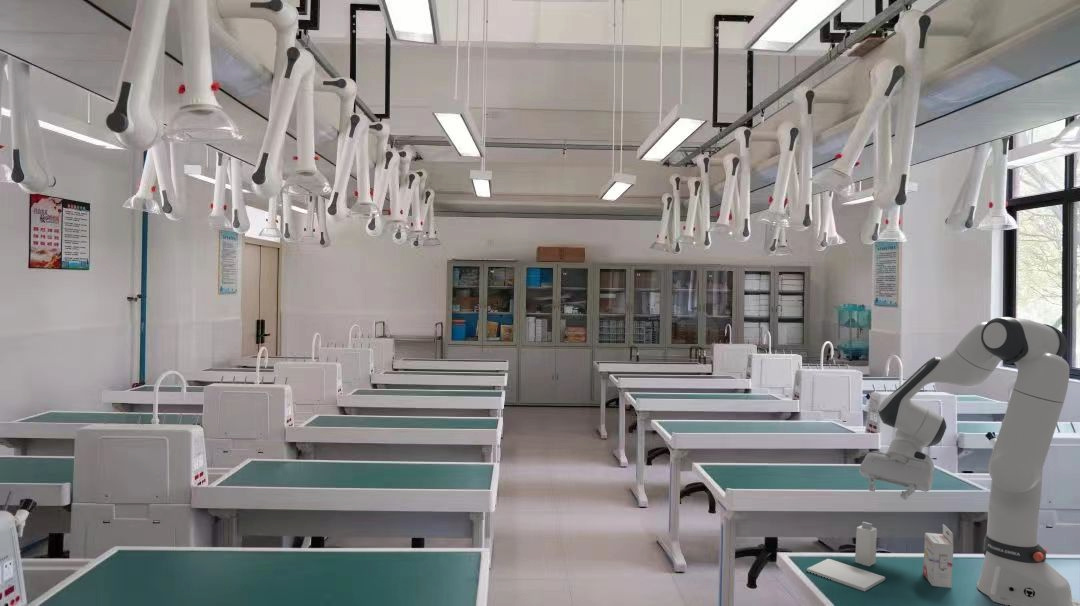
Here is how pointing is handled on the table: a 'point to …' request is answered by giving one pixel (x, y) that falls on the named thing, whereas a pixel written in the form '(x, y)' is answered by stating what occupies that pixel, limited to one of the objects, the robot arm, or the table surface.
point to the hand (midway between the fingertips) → (886, 494)
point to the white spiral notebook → (846, 574)
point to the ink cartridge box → (938, 558)
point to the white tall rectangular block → (866, 544)
